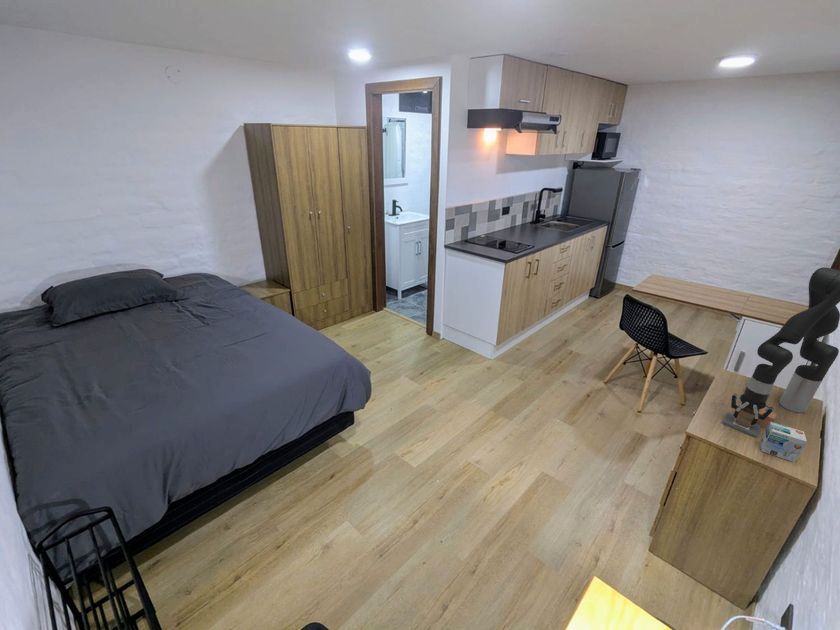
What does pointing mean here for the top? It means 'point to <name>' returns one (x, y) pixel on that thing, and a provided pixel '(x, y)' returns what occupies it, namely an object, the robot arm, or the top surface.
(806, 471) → the top surface
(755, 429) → the plate
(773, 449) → the light bulb box
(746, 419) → the walnut block
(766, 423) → the rust block
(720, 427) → the top surface
